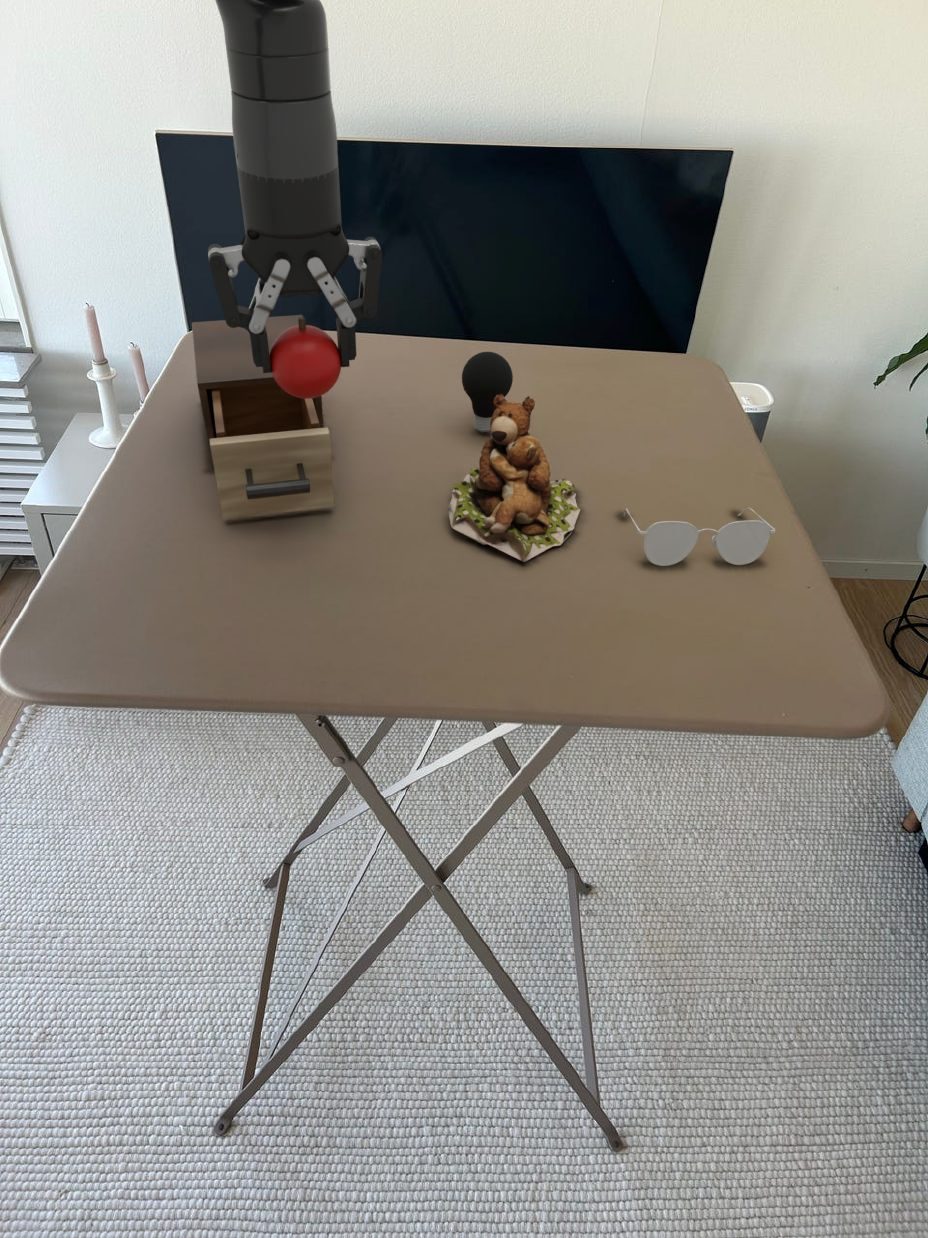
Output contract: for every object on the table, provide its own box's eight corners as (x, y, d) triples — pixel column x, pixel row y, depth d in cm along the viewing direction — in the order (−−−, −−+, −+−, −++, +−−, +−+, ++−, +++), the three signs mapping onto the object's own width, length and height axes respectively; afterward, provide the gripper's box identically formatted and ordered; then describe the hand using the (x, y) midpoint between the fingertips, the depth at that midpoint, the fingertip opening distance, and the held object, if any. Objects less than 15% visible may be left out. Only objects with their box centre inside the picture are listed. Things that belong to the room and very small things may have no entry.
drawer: (341, 531, 89) (336, 456, 83) (226, 545, 87) (212, 469, 81) (316, 439, 102) (311, 368, 96) (215, 449, 99) (203, 377, 93)
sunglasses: (634, 566, 88) (641, 522, 86) (616, 527, 95) (622, 485, 93) (768, 564, 90) (779, 520, 87) (740, 526, 97) (750, 484, 94)
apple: (288, 417, 76) (279, 340, 71) (263, 385, 80) (253, 310, 75) (354, 402, 78) (350, 326, 74) (327, 372, 82) (321, 297, 77)
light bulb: (512, 424, 108) (520, 347, 101) (501, 448, 103) (507, 370, 97) (466, 416, 109) (470, 339, 102) (453, 439, 104) (456, 361, 98)
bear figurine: (423, 536, 91) (424, 432, 82) (481, 465, 101) (487, 366, 93) (547, 575, 87) (561, 470, 79) (594, 497, 97) (612, 397, 89)
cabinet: (326, 458, 100) (319, 372, 93) (212, 470, 98) (197, 383, 90) (309, 396, 111) (302, 314, 103) (206, 405, 108) (191, 322, 101)
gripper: (189, 177, 62) (224, 393, 73) (391, 170, 65) (394, 379, 76) (187, 146, 67) (220, 352, 79) (374, 141, 70) (379, 341, 81)
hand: (306, 365), depth 77 cm, fingers closed on apple, 6 cm apart
